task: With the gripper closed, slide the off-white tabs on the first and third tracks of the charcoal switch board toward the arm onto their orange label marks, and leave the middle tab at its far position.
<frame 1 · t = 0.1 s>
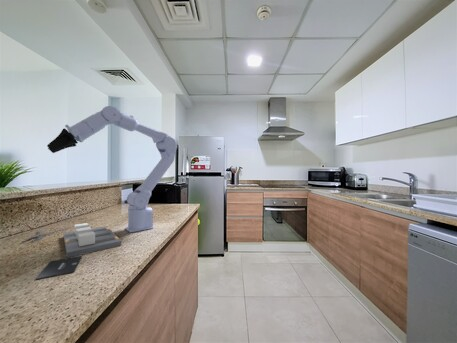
hand: (50, 149, 64), 32 cm above the countertop, tool tilted 50°, fingers open, 7 cm apart
solid state drive: (61, 269, 50), on the countertop
pliers: (49, 234, 76), on the countertop
tab 3: (86, 238, 62), point 3 cm above the countertop, slide at 0.0 cm
switch board: (90, 241, 68), on the countertop
tab 2: (83, 233, 67), point 3 cm above the countertop, slide at 0.0 cm
tab 1: (81, 228, 72), point 3 cm above the countertop, slide at 0.0 cm
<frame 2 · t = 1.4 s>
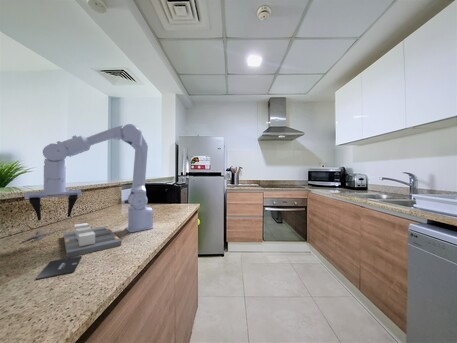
hand: (54, 217, 67), 8 cm above the countertop, tool pointing down, fingers open, 7 cm apart
nothing on the countertop moved.
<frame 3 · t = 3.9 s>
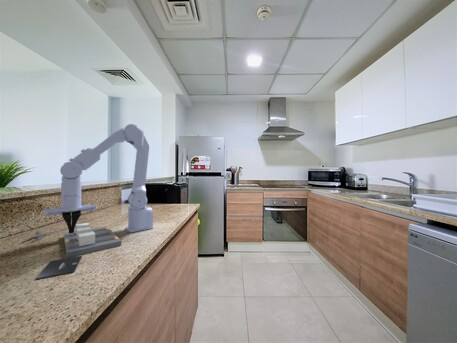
hand: (71, 232, 70), 2 cm above the countertop, tool pointing down, fingers closed
tab 1: (82, 228, 72), point 3 cm above the countertop, slide at 0.3 cm, touching gripper
everything else where it was.
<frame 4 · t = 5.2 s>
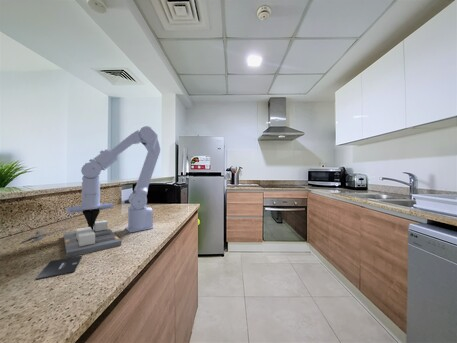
hand: (90, 229, 74), 2 cm above the countertop, tool pointing down, fingers closed
tab 1: (100, 225, 76), point 3 cm above the countertop, slide at 6.1 cm, touching gripper
everything else where it was.
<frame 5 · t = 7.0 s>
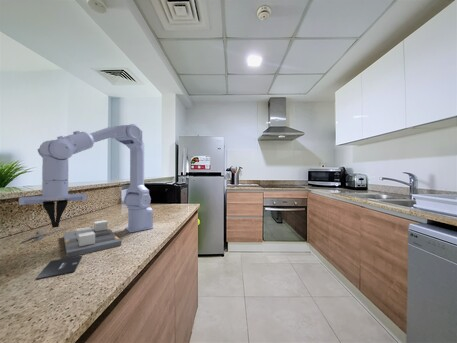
hand: (55, 226, 57), 8 cm above the countertop, tool pointing down, fingers closed
tab 1: (100, 225, 76), point 3 cm above the countertop, slide at 6.1 cm
everything else where it was.
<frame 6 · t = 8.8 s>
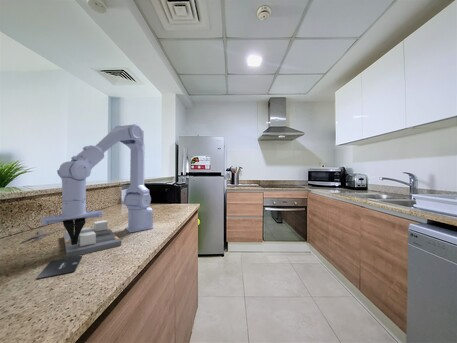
hand: (74, 243, 59), 2 cm above the countertop, tool pointing down, fingers closed
tab 3: (87, 238, 62), point 3 cm above the countertop, slide at 0.2 cm, touching gripper
everything else where it was.
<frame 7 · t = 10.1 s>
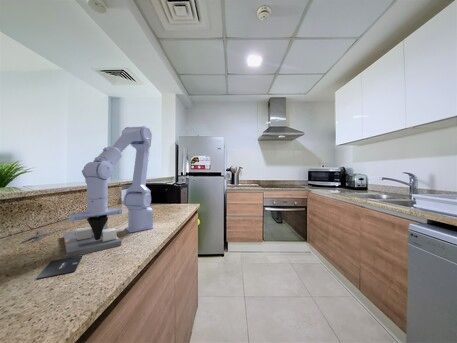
hand: (97, 239, 63), 2 cm above the countertop, tool pointing down, fingers closed
tab 3: (108, 234, 66), point 3 cm above the countertop, slide at 6.1 cm, touching gripper
everything else where it was.
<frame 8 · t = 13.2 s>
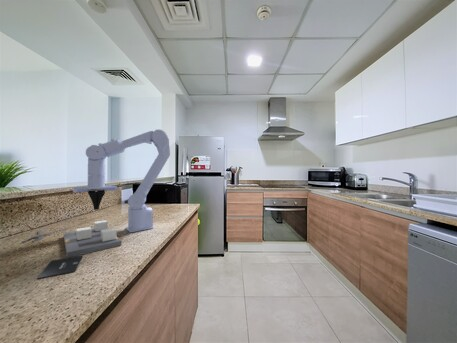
hand: (96, 209, 78), 9 cm above the countertop, tool pointing down, fingers closed
tab 3: (108, 234, 66), point 3 cm above the countertop, slide at 6.1 cm
everything else where it was.
at the end: tab 1 slide at 6.1 cm; tab 3 slide at 6.1 cm; tab 2 slide at 0.0 cm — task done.
